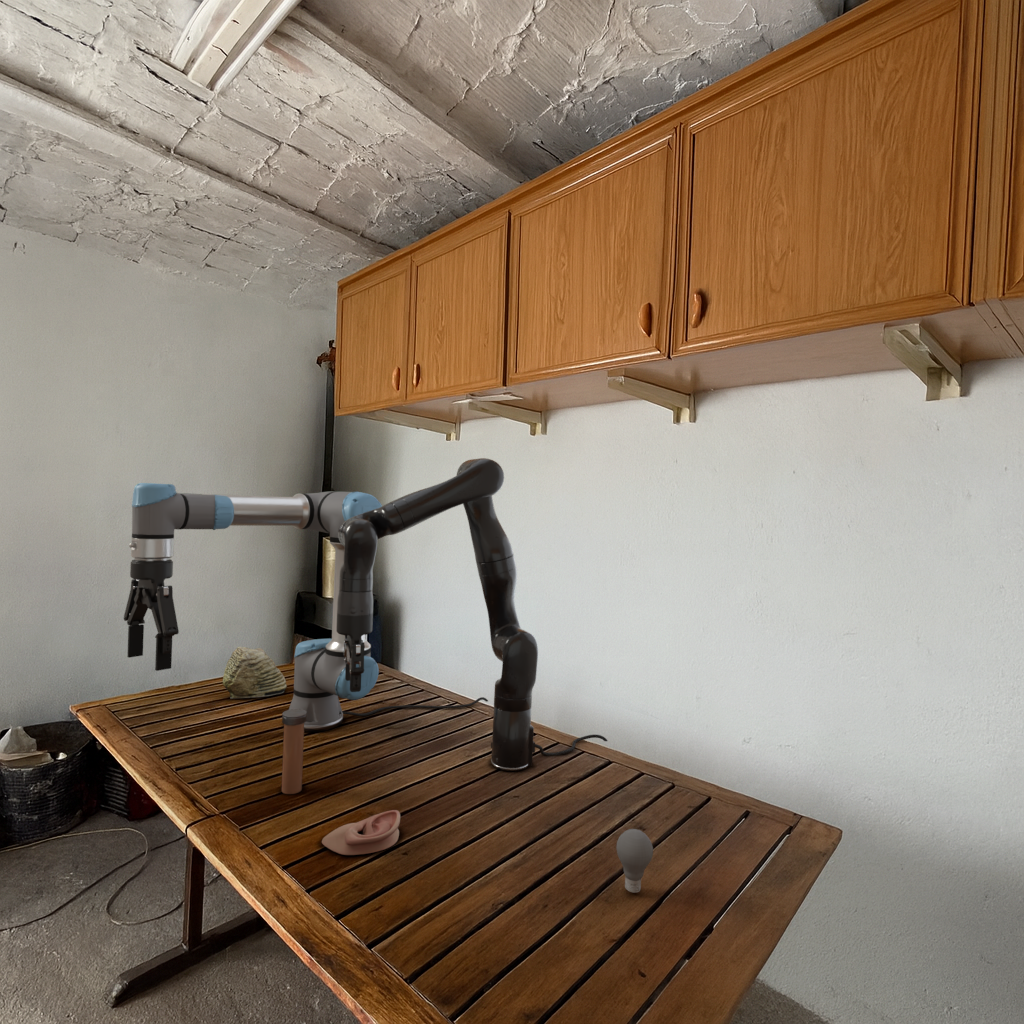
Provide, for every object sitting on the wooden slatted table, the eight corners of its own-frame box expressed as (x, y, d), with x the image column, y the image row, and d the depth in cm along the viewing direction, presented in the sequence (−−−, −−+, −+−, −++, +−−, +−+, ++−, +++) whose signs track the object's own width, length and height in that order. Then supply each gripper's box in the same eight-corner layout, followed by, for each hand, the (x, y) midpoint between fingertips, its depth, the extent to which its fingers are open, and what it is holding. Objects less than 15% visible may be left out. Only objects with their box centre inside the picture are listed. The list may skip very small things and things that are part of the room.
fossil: (218, 695, 195) (220, 647, 195) (278, 685, 208) (279, 640, 207) (228, 703, 189) (230, 653, 188) (289, 692, 201) (290, 645, 201)
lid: (277, 723, 134) (277, 714, 134) (291, 716, 139) (291, 707, 139) (297, 726, 133) (298, 717, 133) (310, 719, 138) (311, 710, 138)
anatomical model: (313, 828, 113) (343, 799, 125) (313, 850, 113) (342, 819, 125) (383, 839, 111) (407, 808, 122) (382, 862, 111) (406, 829, 122)
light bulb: (610, 879, 108) (613, 822, 108) (644, 879, 109) (647, 822, 109) (619, 902, 102) (622, 840, 102) (655, 901, 103) (658, 840, 103)
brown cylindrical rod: (277, 792, 135) (280, 716, 135) (289, 784, 139) (291, 710, 139) (294, 795, 134) (297, 719, 133) (305, 787, 138) (308, 713, 137)
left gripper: (108, 554, 134) (104, 654, 134) (159, 565, 118) (155, 678, 119) (146, 552, 140) (143, 648, 140) (199, 563, 124) (195, 671, 124)
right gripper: (378, 616, 131) (375, 694, 131) (367, 604, 144) (365, 675, 145) (340, 617, 128) (338, 697, 129) (333, 605, 142) (331, 677, 142)
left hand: (148, 662), depth 129 cm, fingers open, 13 cm apart
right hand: (352, 685), depth 137 cm, fingers open, 8 cm apart
